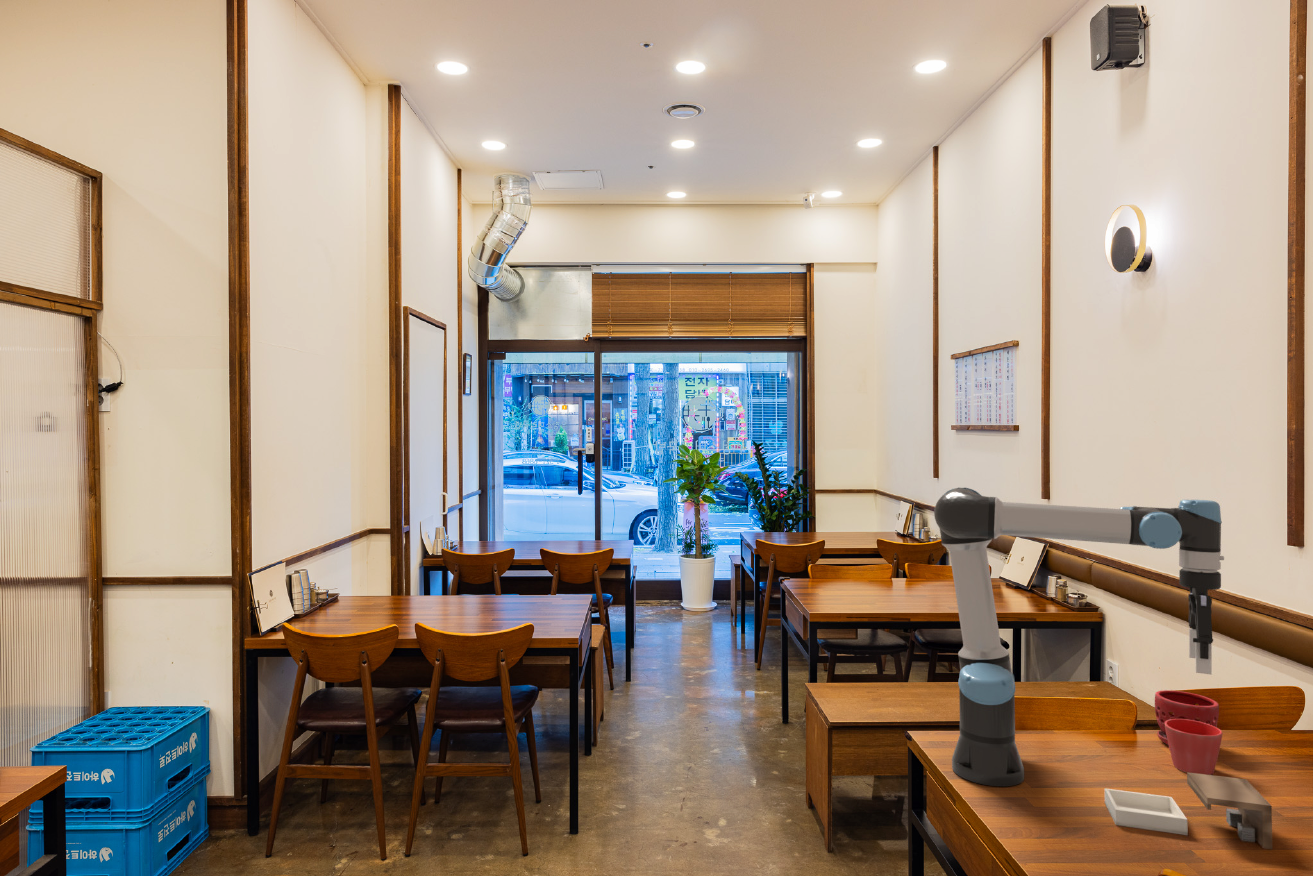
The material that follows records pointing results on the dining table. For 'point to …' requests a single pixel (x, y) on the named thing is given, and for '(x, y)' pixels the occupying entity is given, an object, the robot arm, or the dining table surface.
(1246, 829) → the small stepped grey block
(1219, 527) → the robot arm
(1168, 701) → the plant pot
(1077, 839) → the dining table surface
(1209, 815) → the dining table surface
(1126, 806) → the tray
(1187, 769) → the flower pot
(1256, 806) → the shelf
